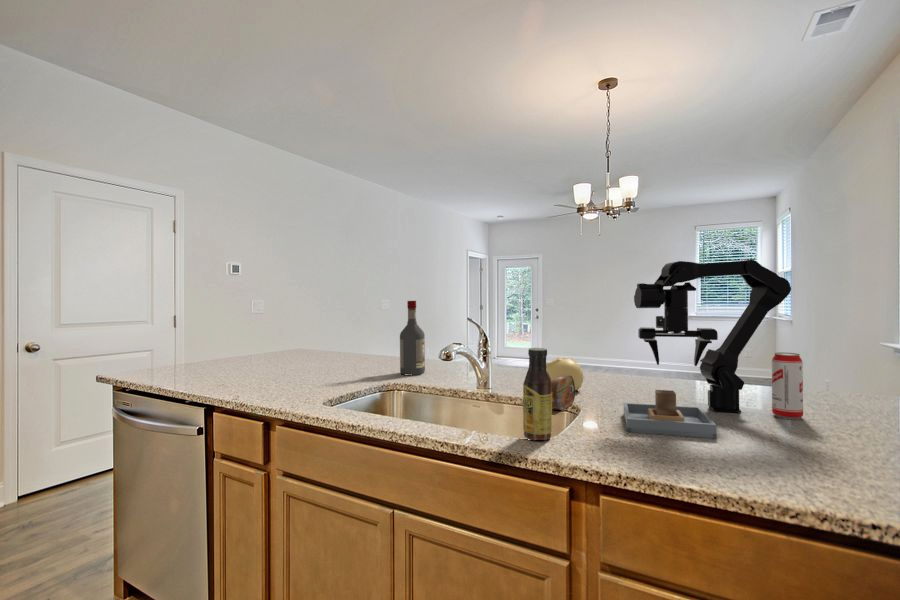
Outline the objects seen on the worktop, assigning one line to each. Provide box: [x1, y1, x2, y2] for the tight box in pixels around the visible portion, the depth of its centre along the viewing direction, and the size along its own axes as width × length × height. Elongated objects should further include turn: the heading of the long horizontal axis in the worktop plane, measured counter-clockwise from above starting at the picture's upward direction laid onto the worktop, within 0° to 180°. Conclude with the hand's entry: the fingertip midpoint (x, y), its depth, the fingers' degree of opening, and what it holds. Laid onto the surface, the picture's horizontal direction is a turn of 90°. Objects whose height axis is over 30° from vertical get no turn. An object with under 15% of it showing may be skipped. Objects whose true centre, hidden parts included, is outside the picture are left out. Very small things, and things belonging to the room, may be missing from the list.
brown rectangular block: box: [654, 389, 677, 416], centre depth 107 cm, size 4×4×7 cm
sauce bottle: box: [522, 347, 553, 441], centre depth 99 cm, size 7×6×20 cm
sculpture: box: [546, 357, 584, 391], centre depth 149 cm, size 12×12×11 cm
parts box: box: [623, 402, 718, 440], centre depth 107 cm, size 18×16×3 cm
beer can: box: [771, 351, 804, 421], centre depth 113 cm, size 6×6×16 cm
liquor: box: [399, 300, 426, 376], centre depth 184 cm, size 9×9×30 cm
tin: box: [551, 375, 576, 411], centre depth 127 cm, size 15×3×8 cm, turn 146°
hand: (676, 365), depth 122 cm, fingers open, 9 cm apart
